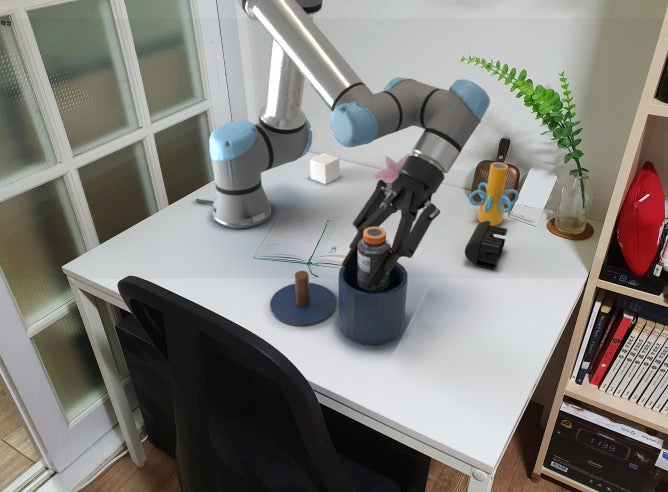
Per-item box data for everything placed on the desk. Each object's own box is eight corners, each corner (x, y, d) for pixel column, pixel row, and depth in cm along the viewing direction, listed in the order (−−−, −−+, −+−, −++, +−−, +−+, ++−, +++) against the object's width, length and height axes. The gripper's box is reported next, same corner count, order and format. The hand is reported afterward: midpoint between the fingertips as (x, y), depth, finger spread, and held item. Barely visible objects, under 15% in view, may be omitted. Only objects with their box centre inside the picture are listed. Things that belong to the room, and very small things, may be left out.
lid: (258, 317, 114) (254, 285, 109) (289, 281, 124) (287, 249, 119) (318, 335, 109) (317, 302, 104) (346, 296, 119) (346, 264, 114)
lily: (366, 193, 158) (371, 173, 149) (384, 164, 162) (390, 143, 154) (404, 213, 156) (411, 194, 147) (421, 182, 161) (430, 162, 152)
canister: (328, 336, 109) (327, 285, 101) (353, 299, 118) (354, 249, 110) (390, 355, 104) (394, 302, 97) (411, 315, 113) (416, 264, 106)
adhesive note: (310, 178, 164) (309, 159, 161) (324, 171, 168) (323, 152, 164) (325, 184, 161) (325, 164, 157) (339, 177, 164) (339, 158, 161)
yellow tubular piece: (502, 236, 136) (513, 180, 127) (461, 225, 141) (469, 170, 132) (517, 215, 145) (528, 160, 136) (478, 205, 149) (486, 152, 140)
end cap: (473, 242, 135) (477, 217, 131) (503, 249, 132) (508, 224, 128) (462, 264, 127) (466, 238, 123) (494, 271, 125) (499, 246, 121)
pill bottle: (389, 274, 107) (392, 223, 100) (388, 293, 102) (392, 241, 95) (357, 273, 107) (358, 222, 101) (356, 292, 103) (357, 240, 96)
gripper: (478, 191, 96) (406, 305, 98) (398, 158, 108) (335, 260, 110) (462, 172, 91) (386, 294, 92) (380, 139, 102) (313, 247, 104)
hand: (358, 275), depth 101 cm, fingers closed on pill bottle, 6 cm apart
